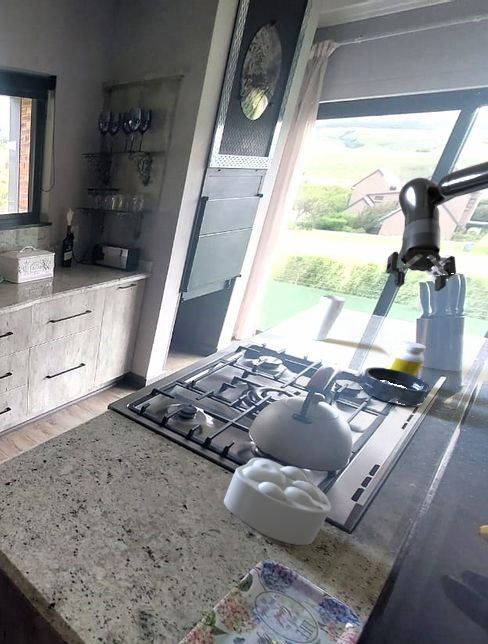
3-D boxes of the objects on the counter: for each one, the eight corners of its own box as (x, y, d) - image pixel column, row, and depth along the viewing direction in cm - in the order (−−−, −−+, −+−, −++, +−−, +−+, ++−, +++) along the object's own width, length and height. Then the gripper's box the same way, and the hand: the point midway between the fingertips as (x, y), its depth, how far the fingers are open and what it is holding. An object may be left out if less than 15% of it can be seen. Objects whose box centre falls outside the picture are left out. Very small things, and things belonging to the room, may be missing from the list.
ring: (428, 398, 107) (438, 382, 105) (413, 413, 101) (424, 396, 98) (366, 378, 117) (374, 363, 115) (349, 390, 110) (357, 374, 108)
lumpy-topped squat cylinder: (247, 482, 77) (262, 446, 73) (325, 528, 68) (348, 490, 64) (216, 503, 72) (231, 466, 68) (296, 557, 63) (319, 517, 59)
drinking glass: (307, 340, 142) (325, 299, 135) (302, 333, 148) (318, 293, 141) (330, 343, 140) (349, 301, 133) (323, 336, 146) (341, 296, 139)
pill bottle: (412, 389, 112) (434, 351, 106) (381, 383, 115) (402, 345, 109) (406, 380, 116) (427, 343, 111) (377, 374, 119) (396, 338, 114)
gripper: (398, 229, 116) (396, 277, 112) (463, 232, 112) (463, 283, 108) (382, 245, 123) (379, 291, 119) (442, 249, 118) (442, 297, 114)
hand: (419, 287), depth 113 cm, fingers open, 8 cm apart
